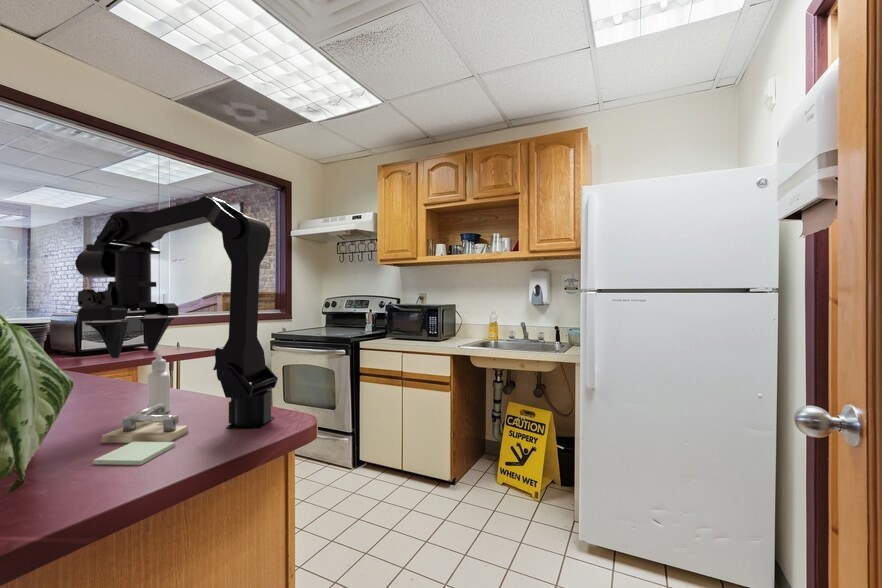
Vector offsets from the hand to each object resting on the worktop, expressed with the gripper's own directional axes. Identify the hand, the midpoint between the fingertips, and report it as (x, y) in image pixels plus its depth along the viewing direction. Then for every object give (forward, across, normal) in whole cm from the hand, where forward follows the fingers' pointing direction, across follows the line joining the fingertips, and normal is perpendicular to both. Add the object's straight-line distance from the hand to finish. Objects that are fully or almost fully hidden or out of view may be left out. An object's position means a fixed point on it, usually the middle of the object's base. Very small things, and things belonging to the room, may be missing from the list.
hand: (134, 354), depth 78 cm
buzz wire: (+13, +9, +12) cm, 19 cm away
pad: (+13, +19, +15) cm, 27 cm away
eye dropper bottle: (+13, -3, +2) cm, 13 cm away
